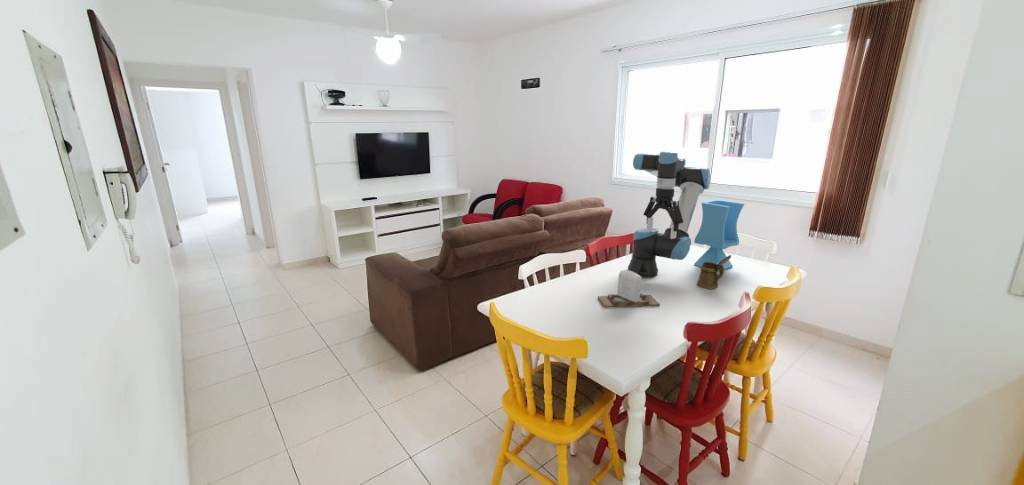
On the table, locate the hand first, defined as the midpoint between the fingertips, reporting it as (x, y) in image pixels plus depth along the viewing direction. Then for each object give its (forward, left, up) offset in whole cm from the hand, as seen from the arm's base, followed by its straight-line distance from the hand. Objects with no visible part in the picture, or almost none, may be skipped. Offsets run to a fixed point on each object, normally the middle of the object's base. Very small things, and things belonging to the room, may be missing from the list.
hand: (660, 234), depth 181 cm
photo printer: (+4, -21, -25) cm, 33 cm away
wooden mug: (+11, +25, -27) cm, 38 cm away
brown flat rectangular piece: (+4, -21, -27) cm, 34 cm away
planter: (-8, +52, -27) cm, 59 cm away
